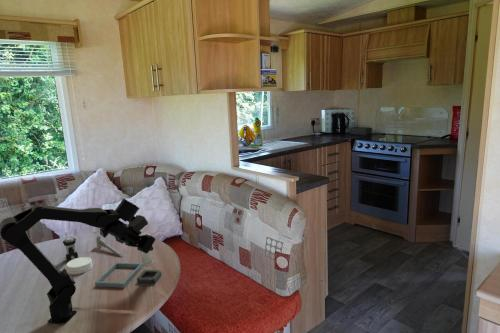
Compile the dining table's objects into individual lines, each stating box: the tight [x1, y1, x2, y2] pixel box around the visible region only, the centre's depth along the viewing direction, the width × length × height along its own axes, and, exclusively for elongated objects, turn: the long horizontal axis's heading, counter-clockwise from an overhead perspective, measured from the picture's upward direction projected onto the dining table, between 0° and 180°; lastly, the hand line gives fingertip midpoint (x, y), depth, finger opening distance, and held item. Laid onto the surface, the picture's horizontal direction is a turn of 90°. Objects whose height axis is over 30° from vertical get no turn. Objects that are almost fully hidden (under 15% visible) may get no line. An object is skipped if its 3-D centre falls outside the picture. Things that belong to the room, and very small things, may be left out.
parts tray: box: [94, 262, 144, 289], centre depth 140 cm, size 16×12×2 cm
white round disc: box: [65, 256, 93, 276], centre depth 149 cm, size 10×10×4 cm
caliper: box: [95, 235, 124, 258], centre depth 165 cm, size 20×1×6 cm, turn 54°
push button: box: [61, 236, 79, 262], centre depth 158 cm, size 7×5×10 cm
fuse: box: [139, 232, 154, 268], centre depth 135 cm, size 4×4×12 cm
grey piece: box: [134, 269, 164, 287], centre depth 137 cm, size 10×8×3 cm
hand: (149, 247), depth 136 cm, fingers closed on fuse, 4 cm apart
